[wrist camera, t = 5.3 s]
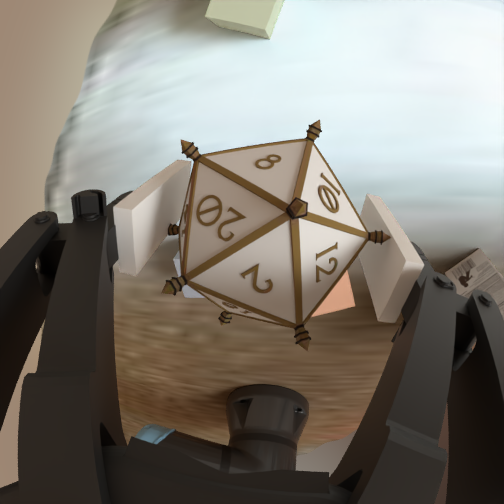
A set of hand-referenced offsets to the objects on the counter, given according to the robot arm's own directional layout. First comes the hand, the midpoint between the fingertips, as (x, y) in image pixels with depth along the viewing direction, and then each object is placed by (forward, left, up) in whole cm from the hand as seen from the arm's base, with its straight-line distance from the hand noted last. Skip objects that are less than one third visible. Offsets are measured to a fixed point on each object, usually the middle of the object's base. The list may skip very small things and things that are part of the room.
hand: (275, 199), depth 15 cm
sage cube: (+13, +5, -15) cm, 20 cm away
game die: (0, 0, -1) cm, 1 cm away
